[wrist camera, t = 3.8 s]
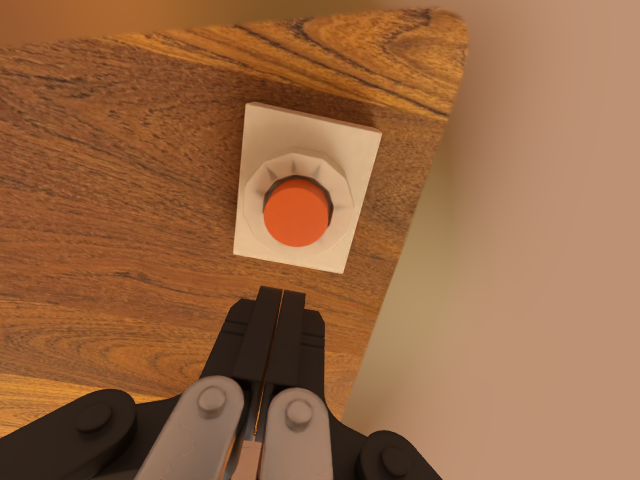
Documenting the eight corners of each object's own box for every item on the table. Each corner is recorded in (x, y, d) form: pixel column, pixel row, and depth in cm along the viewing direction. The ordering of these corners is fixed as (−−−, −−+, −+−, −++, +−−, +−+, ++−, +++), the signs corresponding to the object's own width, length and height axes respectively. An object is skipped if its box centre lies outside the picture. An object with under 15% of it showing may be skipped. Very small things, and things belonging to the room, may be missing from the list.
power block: (253, 101, 19) (236, 105, 16) (377, 128, 20) (388, 137, 16) (240, 240, 24) (225, 268, 20) (341, 258, 24) (344, 289, 21)
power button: (272, 172, 18) (267, 181, 16) (334, 185, 18) (334, 194, 16) (265, 228, 19) (260, 241, 18) (321, 239, 19) (321, 252, 18)
